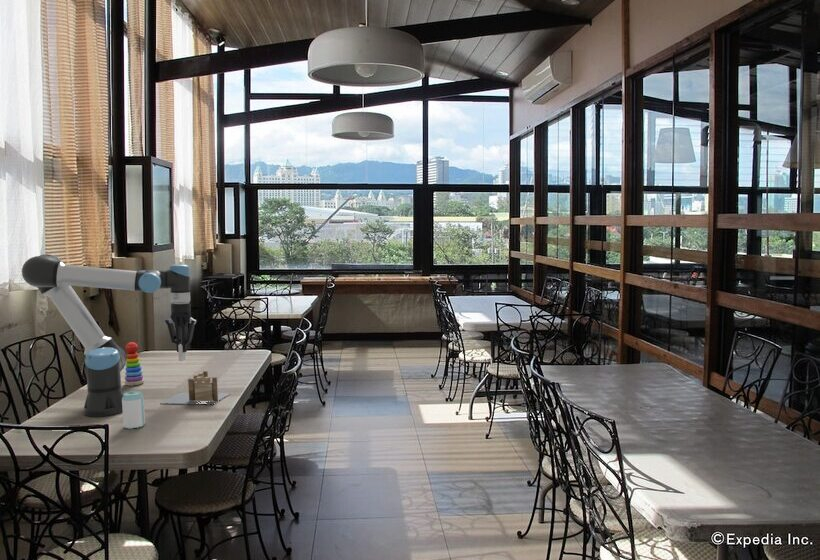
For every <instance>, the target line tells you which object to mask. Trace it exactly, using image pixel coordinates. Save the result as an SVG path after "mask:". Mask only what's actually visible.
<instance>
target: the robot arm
mask: <svg viewBox="0 0 820 560" xmlns="http://www.w3.org/2000/svg"><path fill="white" fill-rule="evenodd" d="M190 274H191V273H190V267H189V265H187V264H170V265H169V269H143V270H130V269H128V270H127V269H118V268H117V269H116V268H105V267H94V266H93V267H92V266H84V265H83V266H82V265H72V264H65V263H64V262H63V260H61V259H60V258H59V257H58V256H55V255H52V254H48V253H47V254H40V255H37V256H33V257H30V258H28V259H27V260H26V261H25V262H24V263H23V265H22V267H21V276H22V278H23V280H24V281H25V282H26V283H27V284H28V285H30V286H32V287H34V288H37V289H38V291H39V292H40V294H41V295H42V296H46V297H48V298H49V299H50V300H51V302H52V303H53V304H54V306H55V307H56V309H57V310H58V312H59V313H60V314H61V316H62V317H63V318H64V320H65V322H66V323H67V324H68V327H70V329H71V330H72V332H73V333H74V334H75V336H76V337H77V339H78V340H79V342H80V343H81V344H82V347H84V352H83V355H84V356H85V360H84V364H85V370H86V371H85V373H86V384H87V386H86V387H87V395H86V398H85V401H84V402H85V403H84V406H83V415H84V416H87V417H94V418H95V417H96V418H97V417H108V416H113V415H118V414H120V413H121V414H122V413H123V410H122V398H123V396H124V393H123V390H122V379H121V372H122V370H124V369H125V368H124V367H126V363H127V362H126V359H127V357H126V355H127V354H126V353H125V351H124V349H123V348H121V347H120V346H119V345H117V343H116V342H115V340H114V339H113V338H112V337H111V336H106V335H105V333H104V332H103V330H102V329H101V327H100V326H99V325H98V323H97V322H96V319H94V317H93V316H92V314H91V313H90V311H89V309H88V308H87V307H86V306H85V304H84V302H83V301H82V299H80V297H79V296H78V294H77V293H76V291H75V290H74V288H73V287H82V288H83V287H86V288H97V289H98V288H99V289H108V290H109V289H111V290H126V291H134V292H135V291H136V292H143V293H148V294H153V293H155V292H157V291H159V289H170V303H171V304H170V312H171V314H170V317H169V318H168V319H165V320H164V322H165V323H166V325H167V329H168V332H169V336H170V340H171V342H172V344H176V352H177V353H178V361H180V362H182V361H185V360H186V353H187V351H188V344H190V343H192V340H193V336H194V331H195V325H196V324H197V322H198V320H197V319H194V318H193V317H192V315H191V314H192V313H191V308H192V307H191V303H190V302H191V275H190ZM188 324H189V325H188Z"/></svg>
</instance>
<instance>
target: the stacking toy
mask: <svg viewBox="0 0 820 560" xmlns="http://www.w3.org/2000/svg"><path fill="white" fill-rule="evenodd" d="M138 349H139V346H138V344H137V343H136V342H133V341H130V342H127V344H126V346H125V351H126V352H127V354H125V355H126V363H125V373H124V374H125V377H124V380H125V381H124V384H125V386H129V387H130V386H132V387H134V385H135V386H139V385H140V386H141V385H142V384H144V383H145V380H144V375H143V370H142V366H141V362H140V358H139V353H138Z"/></svg>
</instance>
